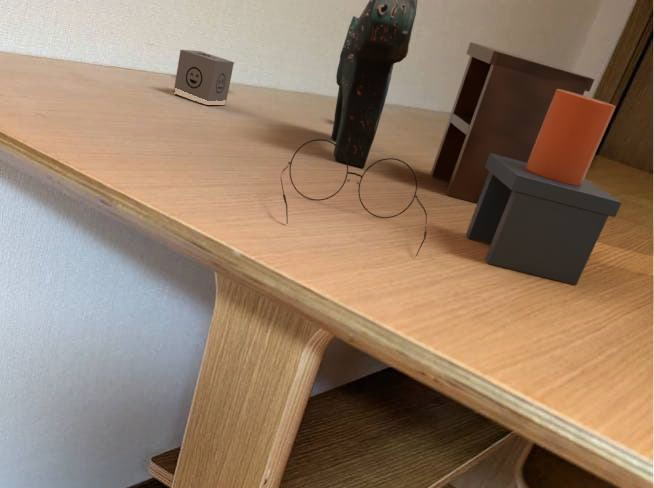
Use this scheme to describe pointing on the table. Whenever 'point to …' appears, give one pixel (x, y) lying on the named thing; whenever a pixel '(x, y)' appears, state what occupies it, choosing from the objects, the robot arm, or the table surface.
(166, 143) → the table surface
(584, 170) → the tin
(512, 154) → the tall shelf
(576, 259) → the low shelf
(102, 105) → the table surface
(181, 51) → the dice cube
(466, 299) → the table surface
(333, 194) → the eyeglasses
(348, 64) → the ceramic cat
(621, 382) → the table surface
